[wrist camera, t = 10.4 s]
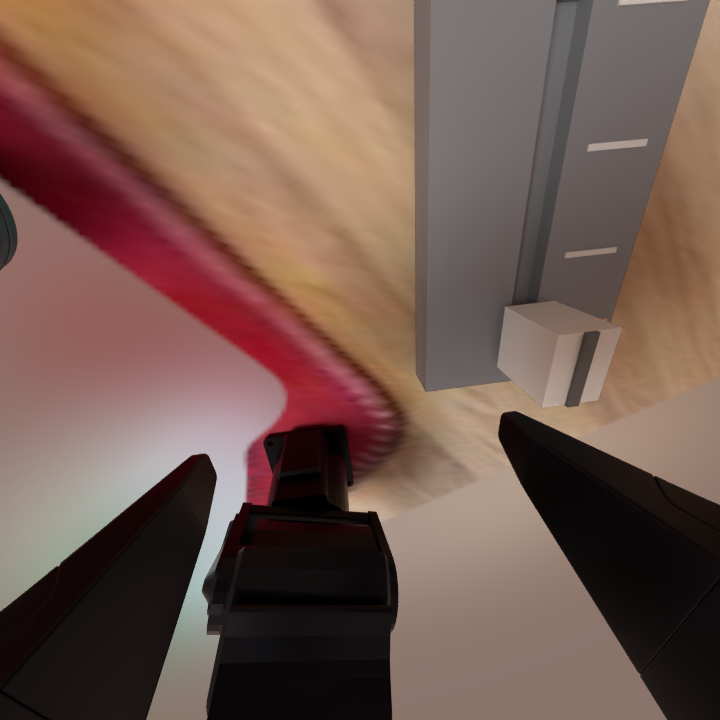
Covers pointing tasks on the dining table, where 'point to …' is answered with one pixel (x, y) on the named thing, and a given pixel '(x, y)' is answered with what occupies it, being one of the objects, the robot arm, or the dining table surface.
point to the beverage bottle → (6, 234)
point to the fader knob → (556, 352)
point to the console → (533, 160)
